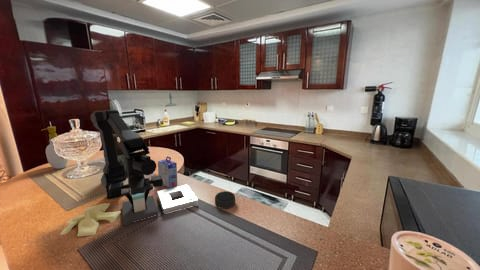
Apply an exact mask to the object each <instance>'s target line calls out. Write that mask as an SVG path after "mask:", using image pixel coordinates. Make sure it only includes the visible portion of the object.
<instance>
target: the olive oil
mask: <svg viewBox="0 0 480 270" xmlns="http://www.w3.org/2000/svg"><path fill="white" fill-rule="evenodd" d="M113 137H114V142H115V147H116V152H117V157H118V162H120V163H121V164H122V165H123V166H124V169H125V171H126V179H128V174H127V166H126V157H125V156H124V153H123V151H122V150H121V148H120V145H119V143H120V141H118V135H117V134H116V133H113ZM103 158H104V159H105V156H104V155H103ZM104 162H105V164H106V161H105V160H104Z"/></svg>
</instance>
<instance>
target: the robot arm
mask: <svg viewBox="0 0 480 270" xmlns="http://www.w3.org/2000/svg"><path fill="white" fill-rule="evenodd" d="M90 121H91V122H92V124H93V127H94V128H95V129H96V130H97V131H99V135H100V141H101V145H102V150H103V157H104V156H105V158H104V162H105V161H106V163H105V164H104V167H103V169H102V173H103V174H102V176H101V178H100V183H101V185H102V186H103V187H105V191H106V199H107V200H111V199H114V198H119V197H126V199H127V200H128V201H130V203H131V204H132V206H134V204H133V195H136V194H139V193H144V198H145V203H146V200H147V197H148V196H149V194H150V192H151V191H153V190H154V188H159V187H163V186H164V185H163V180H162V177H161V176H160V175H158V174H157V175H154V176H153V175H152V174H154V172H155V171H156V170H157V162H156V161H155V160H153V159H151V155H149V154H150V148H149V147H148V145H147V143H146V141H145V140H144V138H143V137H142V136H141V135H140V134H139V133H137V132H135V131H133V130H132V129H130V127H129V125H128V124H127V122H125V120H124V119H123V118H122V116H121V115H120V111H119V110H118V109H105V110H95V111H93V112H92V113H91V114H90ZM113 131H114V133H115V134H116V135H117V138H118V139H119V145H120V148H121V150H122V151H123V153H124V156H125V157H126V166H127V174H128V177H127V178H126V171H125V169H124V166H123V165H122V164H121V163H120V162H118V157H117V152H116V147H115V142H114V137H113V134H114V133H113ZM149 175H152V176H151V177H148V178H147V177H145V176H149ZM126 179H127V183H126V184H125V183H124V182H125V181H126Z"/></svg>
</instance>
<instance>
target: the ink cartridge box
mask: <svg viewBox="0 0 480 270" xmlns="http://www.w3.org/2000/svg"><path fill="white" fill-rule="evenodd" d="M171 159H172V157H170V156H166V157H165V159H162V160H158V161H157V175H160V176H161V177H162V180H163V186H164V187H167V188H173V187H176V186H177V185H178V166H177V162H175V161H173V160H171Z"/></svg>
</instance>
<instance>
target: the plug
mask: <svg viewBox="0 0 480 270" xmlns="http://www.w3.org/2000/svg"><path fill="white" fill-rule="evenodd" d="M132 198H133V204H134V208H133V210H134V211H133V213H135V212H139V211H143V210H147V207H146V205H145V198H144V193H139V194H136V195H132Z"/></svg>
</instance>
